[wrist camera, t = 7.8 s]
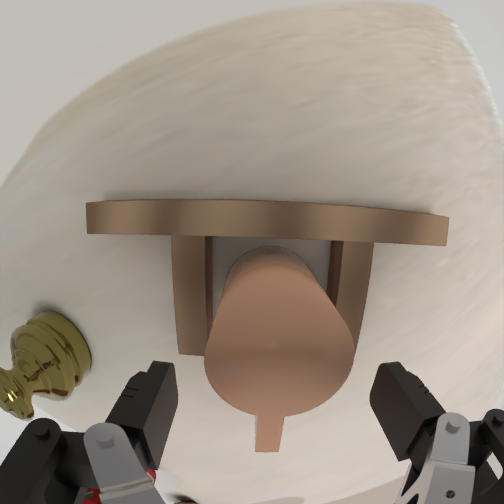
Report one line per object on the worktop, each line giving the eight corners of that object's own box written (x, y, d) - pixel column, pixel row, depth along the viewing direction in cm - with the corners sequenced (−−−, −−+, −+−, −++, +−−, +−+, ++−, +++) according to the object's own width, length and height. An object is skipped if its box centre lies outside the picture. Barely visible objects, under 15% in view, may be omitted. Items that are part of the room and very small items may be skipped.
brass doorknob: (62, 380, 22) (14, 438, 12) (25, 319, 20) (-38, 364, 10) (106, 370, 21) (54, 444, 11) (64, 299, 20) (-13, 353, 10)
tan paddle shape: (226, 244, 18) (200, 293, 10) (316, 247, 18) (366, 296, 10) (226, 379, 21) (214, 468, 12) (300, 380, 21) (319, 467, 12)
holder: (116, 328, 20) (102, 342, 17) (104, 200, 18) (86, 203, 15) (408, 334, 20) (422, 348, 17) (430, 213, 18) (449, 217, 15)
